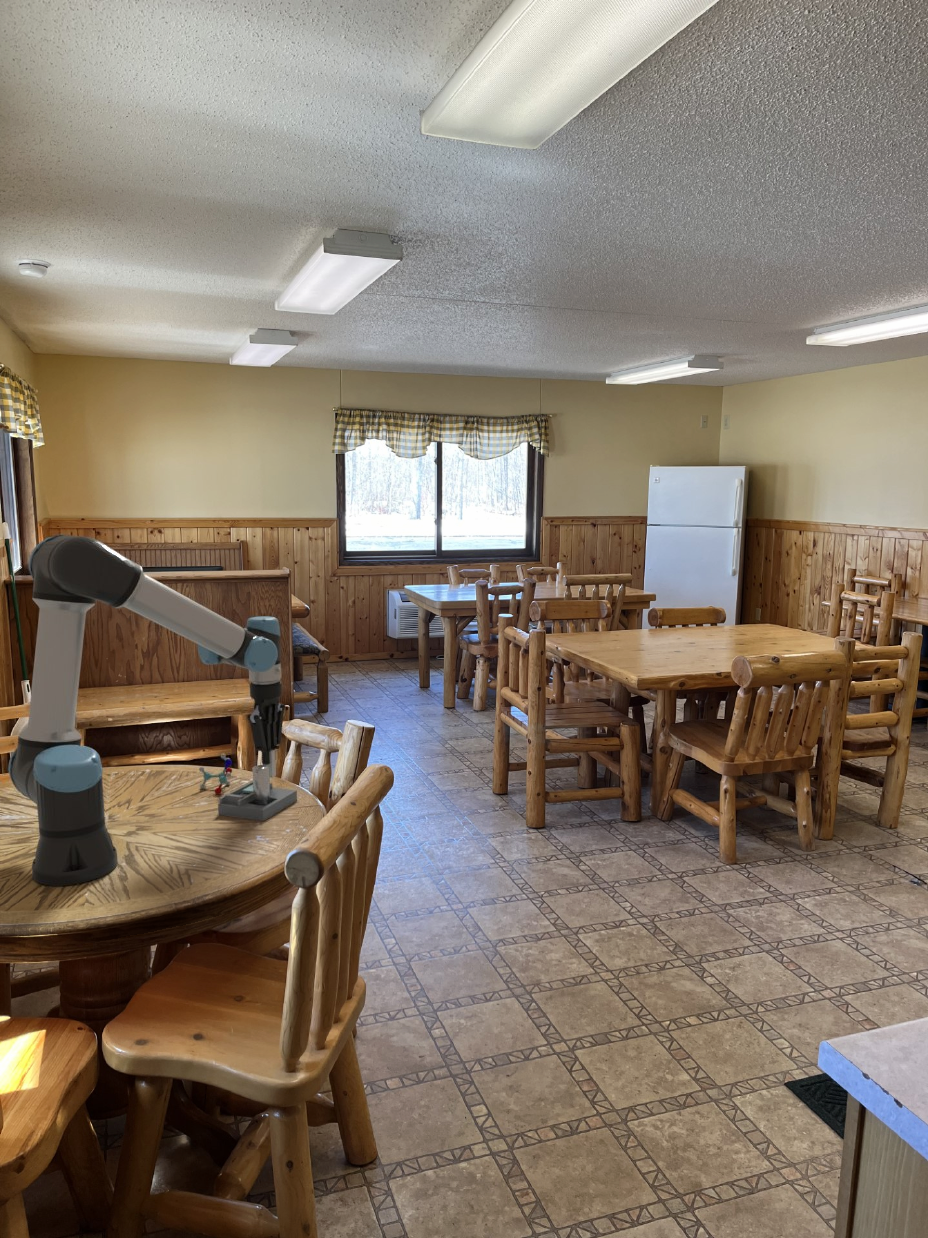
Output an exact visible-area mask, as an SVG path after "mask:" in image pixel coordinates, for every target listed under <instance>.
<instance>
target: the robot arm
mask: <svg viewBox="0 0 928 1238" xmlns="http://www.w3.org/2000/svg"><path fill="white" fill-rule="evenodd" d="M28 570H29V574H30V576H31V578H32V580H33V587H32V601H33V602H34V603H35V604H36V605H37V606H38V608H39V610H38V611H39V612H38V623H37V631H36V632H37V633H36V641H35V642H36V644H35V653H34V661H33V671H32V682H31V690H30V691H31V692H30V701H29V709H28V710H29V711H28V712H29V713H28V722H27V726H26V727H24V729H22V730H21V731H20V732H19V733H18V738H17V747H16V748H15V749H14V751H13V752H12V754H11V756H10V759H9V762H8V776H9V778H10V781H11V782H12V784H13V786H14V787H15V789H16V790H17V791H18V792H19V793H21V795H22V796H24V797H25V798H27V799H29V800H31V802H33V803H34V804H35V805H36V808H37V819H38V820H37V821H38V832H39V838H38V842H37V846H36V850H35V858H34V859H33V861H32V864H31V874H32V875H31V876H32V879H33V881H35V882H36V883H38V884H40V885H44V886H51V887H56V886H57V887H60V886H61V887H62V886H72V885H78V884H84V883H88V882H91V881H94V880H97V879H99V878H102V877H104V876H105V875H108V874H109V873H111V872H112V871H113V870H114V869H115V868H116V867H117V866H118V851H117V848H116V847H115V845H114V844H113V839H112V838H111V835H110V833H109V831H108V828H107V826H106V815H105V801H104V800H105V798H104V785H103V771H104V769H103V765H102V763H101V756H100V754H99V753H98V752H97V751H96V750H95V749H93V748H92V747H89V746H86V745H82V734H81V733H80V732H79V731H78V730H77V729H76V728H75V724H76V715H77V706H78V705H77V704H78V697H79V696H78V695H79V687H80V686H79V685H80V684H79V683H80V675H81V666H82V655H83V646H84V638H85V636H84V635H85V626H86V617H87V612H88V611H89V610H90V609H91V608H93V607H94V606H95V605H96V601H98V602H102V603H104V604H106V605H108V606H111V607H112V608H115V609H121V608H122V607H123V608H125V609H128V610H129V611H132V612H134V613H135V614H137V615H140V616H141V617H143V618H146V619H148V620H149V621H151V622H153V623H155V624H157V625H160V626H162V627H163V628H165V629H167V630H170V631H171V632H174V633H175V634H177V635H179V636H181V637H183V638H185V639H187V640H189V641H191V642H193V643H194V644H197V652H198V656H199V659H200V660H201V662H202V663H203V664H205V665H207V666H208V665H209V666H210V665H220V664H227V665H230V666H231V665H232V666H234V667H238V668H243V669H247V670H248V677H249V678H248V680H249V681H250V683H249V695H250V698H251V699H252V700H253V701H254V704H253V712H252V714H251V713H250V714H249V713H248V714H247V717H246V718H247V719H248V720H247V721H248V722H249V723H250V729H251V734H252V738H253V743H254V749H255V751H259V752H260V753H261V765H267V766H269V773H270V778H274V777H276V776H277V772H276V769H277V768H276V750H279V749H280V745H281V742H282V732H283V724H284V723H283V721H284V713H285V709H286V704H285V703H284V704H283V703H281V702H280V699H279V698H281V697H282V696H283V684H282V681H281V679H282V667H281V665H282V664H281V662H282V660H281V657H282V656H281V652H282V651H281V629H280V623H279V620H278V618H276V617H274V616H268V615H266V616H254V617H249V618H248V619H247V620H246V625H245V627H242V626H240V625H239V624H237V623H235V622H233V621H231V620H230V619H228V618H226V617H224V616H222V615H220V614H218V613H216V612H214V611H213V610H211V609H209V608H208V607H206V606H204V605H202V604H200V603H198V602H196V601H194V600H192V599H191V598H189V597H188V596H185V595H184V594H181V593H180V592H178V591H176V590H175V589H173V588H171V587H170V586H167V585H165V584H164V583H161V582H160V581H158V580H156V579H155V578H153V577H151V576H149V575H148V574H146V573H144V570H143V567H142V566H141V565H140V564H138V563H136V562H134V561H133V560H131V559H129V558H128V557H126V556H125V555H123V554H122V553H120V552H118V551H116V549H113V548H112V547H110V546H108V544H105V543H104V542H102V541H100V540H98V539H95V538H94V537H91V536H85V535H72V534H57V535H52V536H50V537H47V538H45V539H43V540H42V541H40V542H39V543H37V545H36V546H35V547H34V548H33V550H32V551H31V554H30V556H29V559H28Z"/></svg>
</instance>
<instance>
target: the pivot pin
mask: <svg viewBox="0 0 928 1238" xmlns="http://www.w3.org/2000/svg"><path fill="white" fill-rule="evenodd" d="M251 769H252V781H253V792H254V805H262V806H267V805H268V804H270V787H269V766H267V765H263V764H259V765H255V766H252V768H251Z"/></svg>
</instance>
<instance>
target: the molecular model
mask: <svg viewBox="0 0 928 1238" xmlns="http://www.w3.org/2000/svg"><path fill="white" fill-rule="evenodd" d="M226 756H227V754H225V753H221V755H220V758H221V759H223V760H224V764H225V766H224V768H223V771H222V772H219V774H211V773H210V771H208V770H206V771H205V767H204V766H200V767H199V768H198V771H199V772H201V773H202V774H203V776H202V777H203V779H204V780H203V781H202V783H201V784H200V785H199V787H200V789H202V790H203V789H205V788H206V783H207V781H209V780H210V779H211V778H218V782H219V784H218V785H219V786H218V787H216V788H215V789H214V793H215V794H216V795H220V794H222V791H223V790H222V787H223V784H225V786H230V784H231V781H230V780H228V779H227V778H231V776H232V773H233V769H232V768H231V767H230V766H231V765H232V764H233V761H232V760H231V758H229V757H226Z"/></svg>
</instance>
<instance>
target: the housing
mask: <svg viewBox="0 0 928 1238" xmlns="http://www.w3.org/2000/svg"><path fill="white" fill-rule="evenodd" d="M251 785H253V780H251V781H250V782H248V783H246V784H244V785H241V786H240V787H238V788H235V789H234V790H233V791H230V792H229V793H226V794H224V795H223V796H221V797H218V800H219V801H218V802H219V803H218V804H217V808H218V809H217V811H218V816H226V817H234V818H239V819H245V820H246V819H248V820H254V821H261V822H264V821H266V820H267V819H269V818H272V817H273V816H274V815H276V814H278V813H279V812H280V811H283V810H284V809H285V808H288V807H289V806H291V805H292V804H294V803H296V802H297V801H298V791H297V789H287V788H282V787H281V788H280V787H273V782H272V783H271V782H270V783H269V787H270V804H268V805H267V806H262V805H254V792H253V793H251V794H250V793H243V790H244V789H246V788H247V787H249V786H251Z"/></svg>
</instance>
